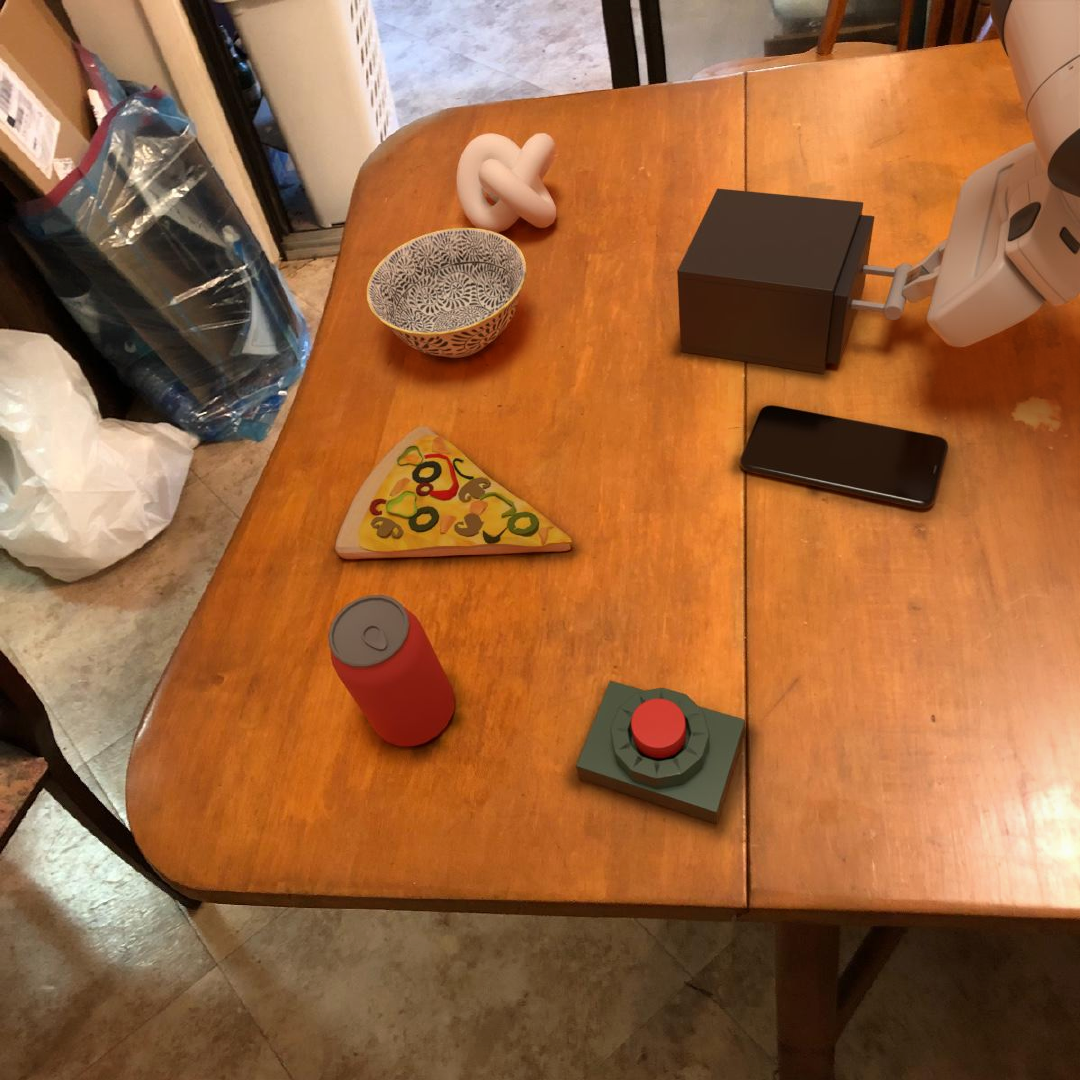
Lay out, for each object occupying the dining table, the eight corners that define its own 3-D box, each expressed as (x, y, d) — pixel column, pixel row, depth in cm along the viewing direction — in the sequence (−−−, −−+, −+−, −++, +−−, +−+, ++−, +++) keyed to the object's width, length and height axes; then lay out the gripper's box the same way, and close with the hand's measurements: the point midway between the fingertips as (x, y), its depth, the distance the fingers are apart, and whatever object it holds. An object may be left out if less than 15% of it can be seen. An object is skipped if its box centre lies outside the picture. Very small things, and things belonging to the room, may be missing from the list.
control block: (744, 733, 67) (746, 707, 64) (716, 824, 63) (716, 802, 60) (612, 694, 70) (607, 667, 67) (579, 778, 67) (572, 755, 63)
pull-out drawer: (911, 291, 90) (925, 220, 84) (889, 372, 84) (902, 303, 78) (738, 269, 96) (739, 202, 89) (705, 344, 90) (704, 277, 84)
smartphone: (736, 472, 81) (931, 514, 75) (736, 465, 80) (933, 507, 74) (762, 408, 85) (949, 443, 79) (762, 401, 84) (951, 436, 78)
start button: (693, 718, 64) (692, 707, 63) (676, 765, 62) (675, 754, 61) (642, 703, 65) (641, 692, 64) (625, 749, 64) (623, 738, 62)
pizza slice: (412, 431, 90) (404, 409, 88) (609, 484, 82) (606, 461, 80) (324, 555, 82) (313, 534, 80) (532, 626, 75) (526, 605, 72)
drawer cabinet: (852, 287, 93) (863, 202, 85) (823, 374, 86) (832, 290, 79) (717, 270, 97) (717, 188, 90) (680, 351, 91) (676, 270, 83)
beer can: (403, 767, 69) (352, 691, 60) (357, 708, 73) (302, 628, 63) (473, 711, 71) (435, 628, 62) (425, 656, 75) (381, 571, 65)
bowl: (569, 316, 97) (559, 255, 91) (467, 412, 91) (449, 353, 85) (457, 269, 104) (441, 210, 98) (356, 355, 98) (333, 298, 92)
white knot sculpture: (455, 252, 106) (436, 181, 99) (474, 189, 113) (458, 119, 106) (553, 248, 104) (540, 175, 97) (566, 184, 111) (556, 112, 104)
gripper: (1052, 99, 76) (907, 194, 87) (1022, 255, 66) (862, 340, 77) (1096, 154, 78) (949, 240, 89) (1074, 314, 68) (910, 388, 79)
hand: (908, 287), depth 83 cm, fingers closed
